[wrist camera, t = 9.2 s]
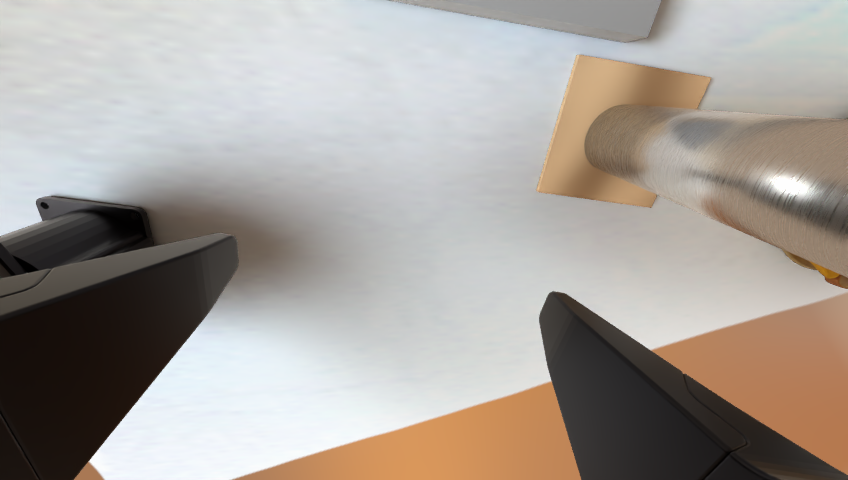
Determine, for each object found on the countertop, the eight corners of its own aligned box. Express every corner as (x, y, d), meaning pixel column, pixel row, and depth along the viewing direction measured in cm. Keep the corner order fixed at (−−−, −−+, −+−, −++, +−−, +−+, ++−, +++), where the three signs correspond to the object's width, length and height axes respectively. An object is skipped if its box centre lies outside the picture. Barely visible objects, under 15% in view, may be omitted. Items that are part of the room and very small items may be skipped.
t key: (584, 191, 21) (878, 369, 8) (584, 94, 19) (1017, 107, 5) (645, 179, 21) (1060, 339, 8) (654, 79, 19) (1298, 50, 5)
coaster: (536, 190, 22) (538, 191, 21) (576, 55, 18) (579, 54, 18) (647, 205, 22) (651, 207, 22) (705, 77, 19) (711, 77, 19)
